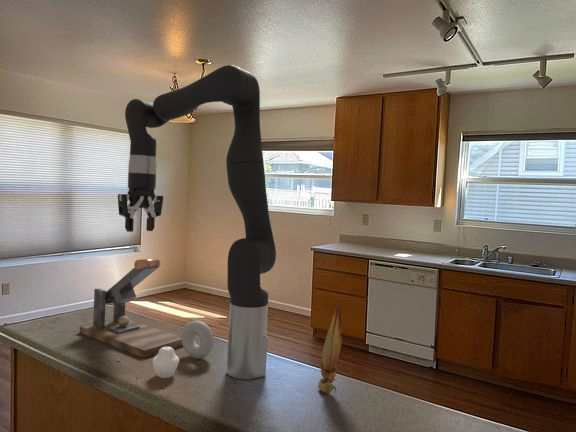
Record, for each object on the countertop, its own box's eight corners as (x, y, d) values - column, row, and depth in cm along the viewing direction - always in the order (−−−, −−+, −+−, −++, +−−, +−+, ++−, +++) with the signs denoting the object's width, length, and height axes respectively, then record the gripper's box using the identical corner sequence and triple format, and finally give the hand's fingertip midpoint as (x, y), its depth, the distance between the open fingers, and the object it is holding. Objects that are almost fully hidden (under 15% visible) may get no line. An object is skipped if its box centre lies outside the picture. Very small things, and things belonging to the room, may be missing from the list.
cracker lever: (165, 275, 126) (157, 256, 128) (146, 278, 121) (138, 258, 123) (120, 310, 138) (114, 292, 140) (101, 314, 133) (95, 295, 135)
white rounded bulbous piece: (184, 375, 107) (185, 346, 106) (163, 383, 101) (165, 352, 101) (166, 368, 110) (167, 340, 110) (146, 375, 105) (147, 346, 105)
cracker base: (185, 345, 127) (187, 299, 127) (144, 358, 116) (146, 308, 115) (120, 323, 144) (122, 283, 144) (79, 332, 133) (81, 289, 132)
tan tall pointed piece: (332, 403, 96) (337, 311, 95) (309, 397, 98) (315, 307, 97) (341, 391, 102) (347, 304, 102) (320, 386, 105) (325, 301, 104)
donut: (177, 356, 119) (179, 318, 118) (186, 352, 122) (188, 316, 121) (207, 364, 114) (209, 325, 113) (215, 360, 117) (217, 322, 116)
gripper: (128, 170, 119) (126, 233, 120) (171, 174, 131) (168, 231, 131) (111, 170, 123) (109, 230, 124) (154, 174, 135) (152, 229, 136)
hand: (140, 231), depth 128 cm, fingers open, 6 cm apart
